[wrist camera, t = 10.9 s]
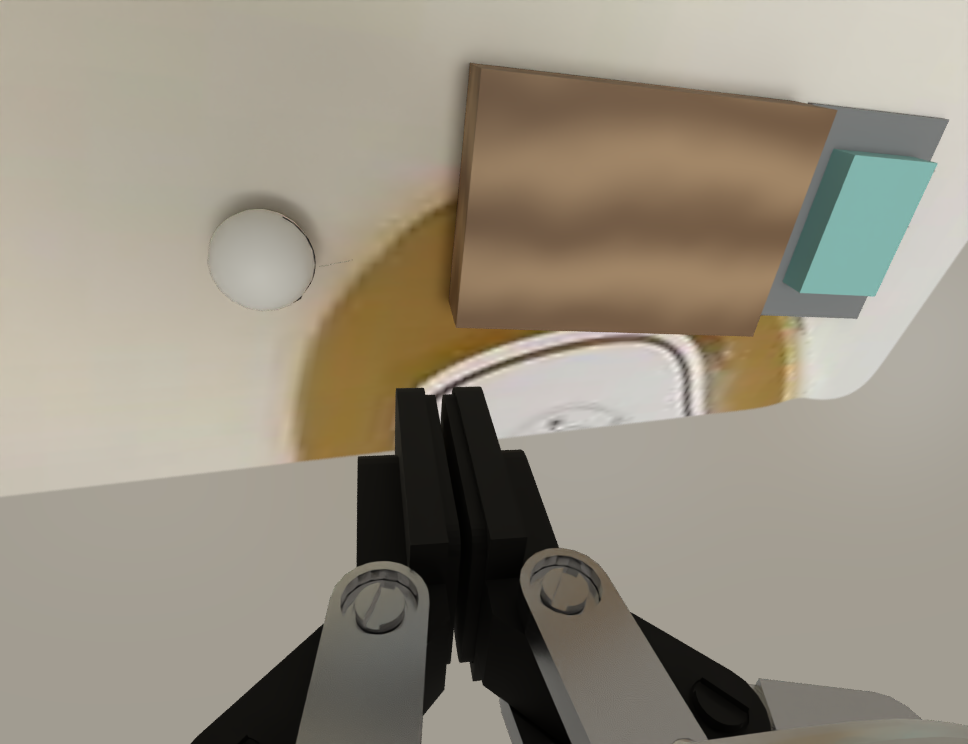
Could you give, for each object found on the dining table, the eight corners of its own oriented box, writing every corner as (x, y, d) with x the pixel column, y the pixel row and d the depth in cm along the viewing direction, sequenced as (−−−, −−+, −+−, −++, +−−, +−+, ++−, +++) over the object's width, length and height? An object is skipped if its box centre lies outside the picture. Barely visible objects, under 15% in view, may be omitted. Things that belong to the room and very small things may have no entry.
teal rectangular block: (937, 163, 37) (913, 156, 39) (855, 155, 36) (833, 148, 38) (875, 296, 42) (855, 285, 43) (799, 293, 41) (782, 281, 42)
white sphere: (218, 282, 36) (195, 322, 32) (220, 188, 34) (195, 217, 29) (347, 300, 38) (343, 340, 33) (358, 213, 36) (356, 243, 31)
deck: (469, 63, 32) (481, 68, 29) (794, 101, 36) (837, 109, 33) (448, 300, 39) (456, 327, 36) (722, 311, 43) (752, 336, 40)
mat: (808, 102, 36) (812, 103, 36) (944, 118, 38) (949, 119, 38) (735, 311, 43) (738, 314, 43) (853, 316, 45) (857, 318, 45)
